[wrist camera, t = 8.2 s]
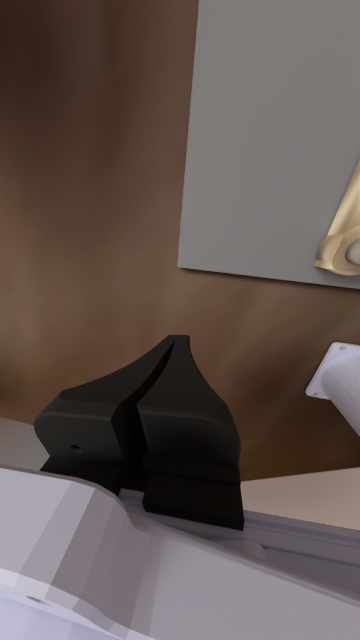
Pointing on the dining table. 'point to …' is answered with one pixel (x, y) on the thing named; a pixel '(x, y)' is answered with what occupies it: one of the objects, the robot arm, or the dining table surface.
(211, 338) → the dining table surface
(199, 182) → the base plate
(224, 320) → the dining table surface
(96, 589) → the robot arm
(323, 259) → the link
